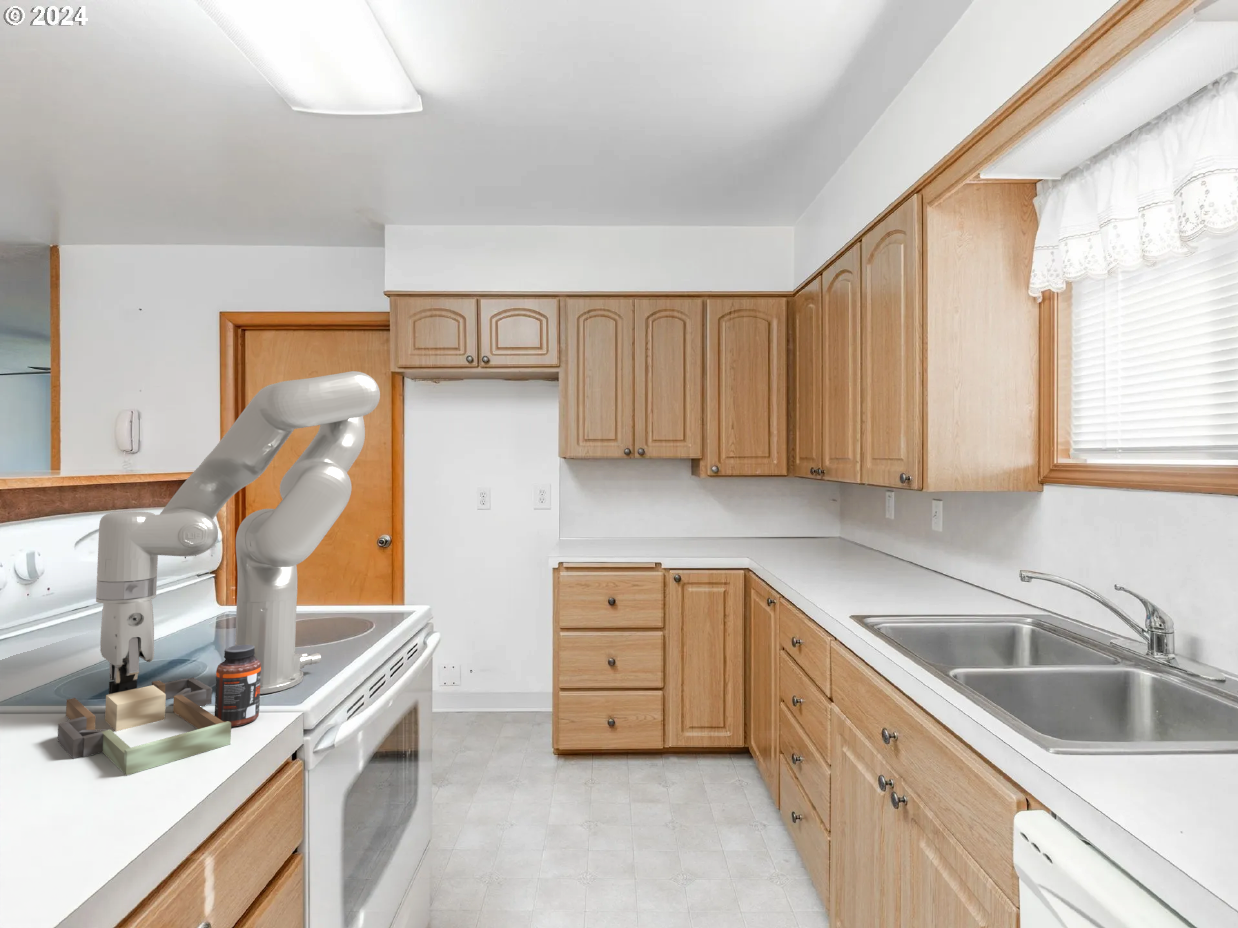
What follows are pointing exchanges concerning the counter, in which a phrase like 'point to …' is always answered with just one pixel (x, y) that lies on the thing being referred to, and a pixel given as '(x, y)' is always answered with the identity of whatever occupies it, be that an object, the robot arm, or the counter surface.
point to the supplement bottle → (238, 686)
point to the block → (135, 707)
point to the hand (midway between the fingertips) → (122, 705)
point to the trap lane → (187, 701)
